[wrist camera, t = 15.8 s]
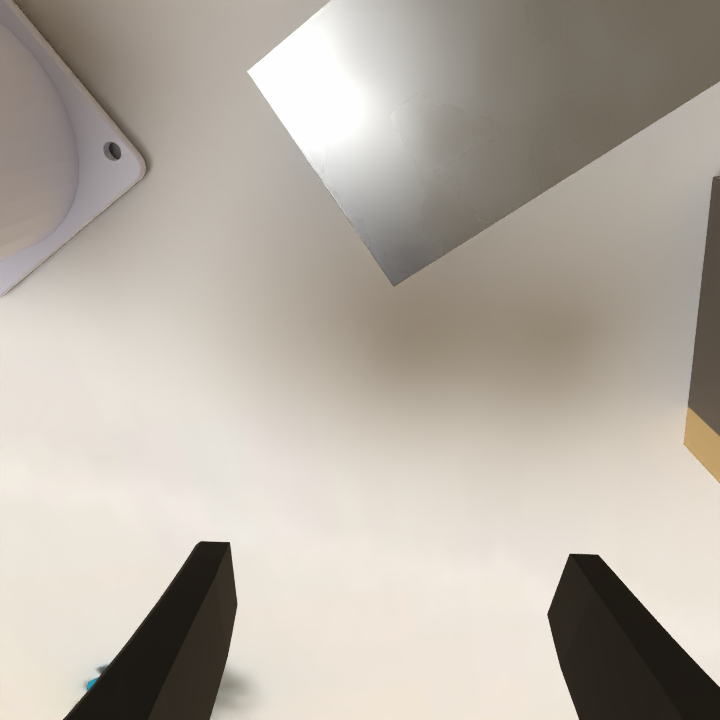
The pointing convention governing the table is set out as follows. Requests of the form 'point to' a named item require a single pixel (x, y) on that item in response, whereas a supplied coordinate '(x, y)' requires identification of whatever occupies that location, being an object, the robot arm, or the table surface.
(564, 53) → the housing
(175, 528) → the table surface
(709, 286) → the grey rectangular bar
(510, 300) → the table surface
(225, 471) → the table surface
